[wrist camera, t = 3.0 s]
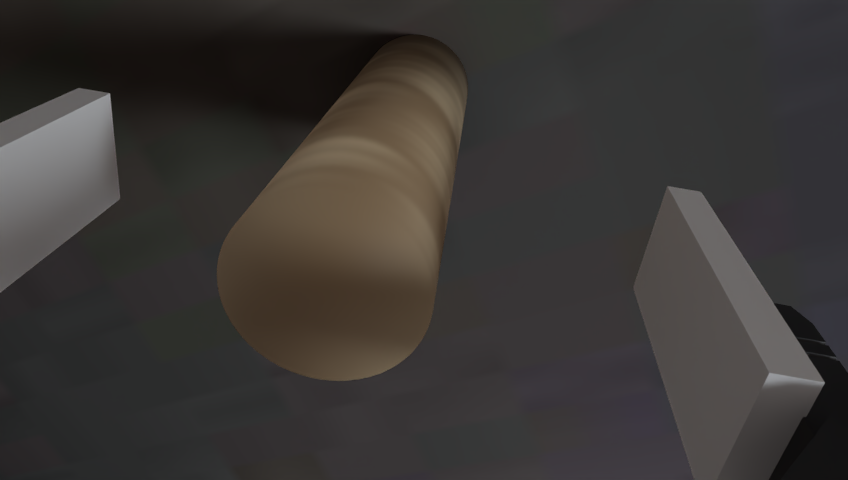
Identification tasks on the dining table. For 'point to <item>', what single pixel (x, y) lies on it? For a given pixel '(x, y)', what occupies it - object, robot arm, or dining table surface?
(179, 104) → the dining table surface
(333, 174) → the dowel
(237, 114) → the dining table surface
